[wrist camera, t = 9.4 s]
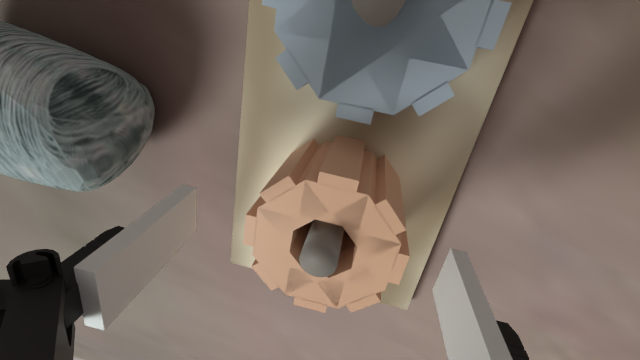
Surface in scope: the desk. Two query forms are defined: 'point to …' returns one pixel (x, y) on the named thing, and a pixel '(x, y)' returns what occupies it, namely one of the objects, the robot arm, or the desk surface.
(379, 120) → the gear board
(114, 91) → the spool
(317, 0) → the gear
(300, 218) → the loose gear
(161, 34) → the desk surface
